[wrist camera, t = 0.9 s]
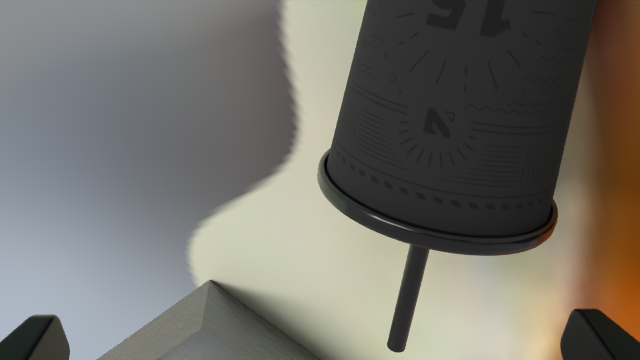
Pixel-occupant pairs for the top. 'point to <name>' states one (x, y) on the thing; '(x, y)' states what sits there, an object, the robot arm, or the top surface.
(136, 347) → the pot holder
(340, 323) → the top surface
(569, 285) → the top surface
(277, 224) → the top surface
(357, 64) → the drinking cup
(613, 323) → the robot arm
